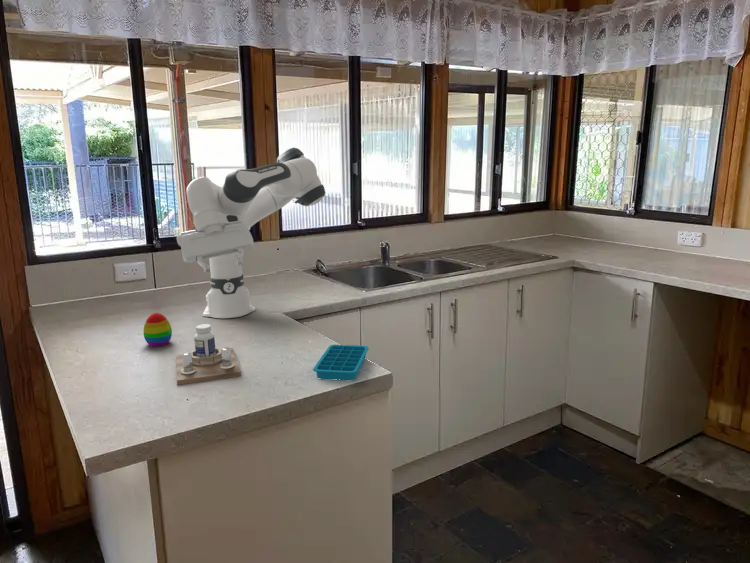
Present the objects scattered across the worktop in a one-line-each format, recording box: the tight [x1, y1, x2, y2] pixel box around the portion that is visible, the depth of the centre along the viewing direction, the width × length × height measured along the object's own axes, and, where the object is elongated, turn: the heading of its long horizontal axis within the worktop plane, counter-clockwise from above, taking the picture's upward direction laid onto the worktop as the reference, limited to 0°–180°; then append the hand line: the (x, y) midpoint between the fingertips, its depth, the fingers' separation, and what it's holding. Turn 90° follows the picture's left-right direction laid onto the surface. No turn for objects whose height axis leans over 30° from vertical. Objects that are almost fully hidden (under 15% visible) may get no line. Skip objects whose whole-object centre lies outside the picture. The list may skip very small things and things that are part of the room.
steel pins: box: [180, 347, 235, 375], centre depth 149 cm, size 4×14×5 cm, turn 110°
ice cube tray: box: [312, 344, 370, 381], centre depth 153 cm, size 12×20×3 cm, turn 171°
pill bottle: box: [193, 323, 216, 357], centre depth 156 cm, size 5×5×10 cm
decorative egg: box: [143, 312, 173, 348], centre depth 173 cm, size 8×8×10 cm
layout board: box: [175, 346, 242, 386], centre depth 154 cm, size 20×16×3 cm
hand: (224, 267), depth 158 cm, fingers open, 8 cm apart
